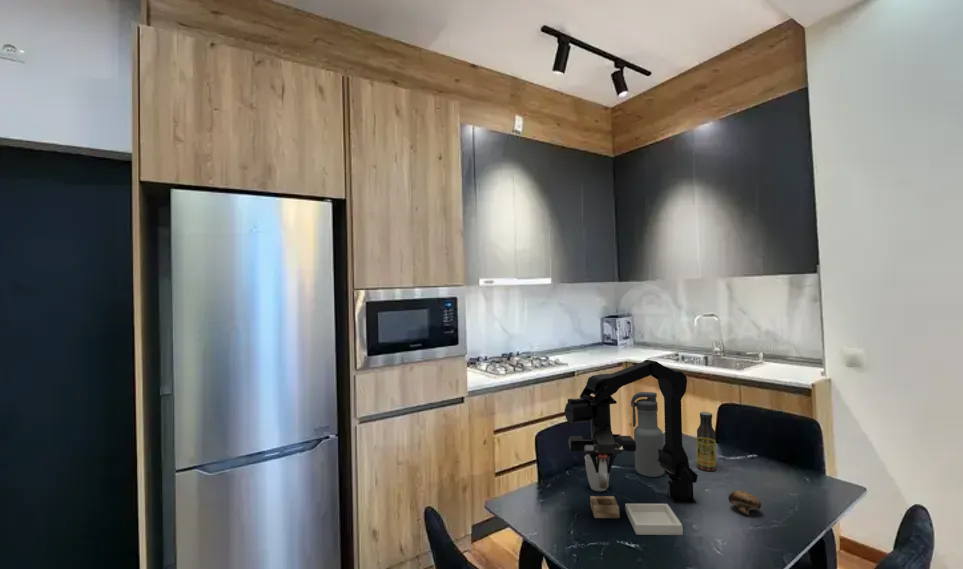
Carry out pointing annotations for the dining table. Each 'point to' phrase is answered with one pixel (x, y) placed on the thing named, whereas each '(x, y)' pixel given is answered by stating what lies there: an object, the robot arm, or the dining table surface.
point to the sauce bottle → (706, 443)
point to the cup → (592, 474)
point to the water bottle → (647, 435)
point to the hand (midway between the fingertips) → (602, 472)
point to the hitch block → (604, 507)
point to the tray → (653, 519)
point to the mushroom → (744, 501)
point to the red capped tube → (602, 469)
